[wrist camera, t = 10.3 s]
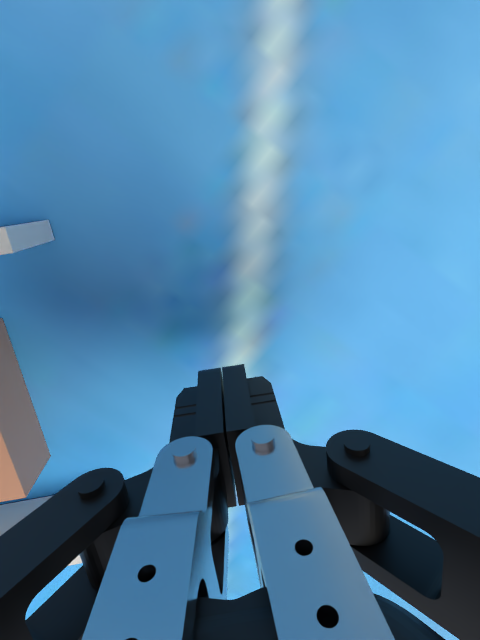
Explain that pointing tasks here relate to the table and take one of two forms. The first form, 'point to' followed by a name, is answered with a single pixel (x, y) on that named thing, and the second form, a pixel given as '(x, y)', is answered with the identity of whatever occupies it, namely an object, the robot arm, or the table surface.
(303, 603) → the robot arm
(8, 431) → the terracotta tile
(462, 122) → the table surface
